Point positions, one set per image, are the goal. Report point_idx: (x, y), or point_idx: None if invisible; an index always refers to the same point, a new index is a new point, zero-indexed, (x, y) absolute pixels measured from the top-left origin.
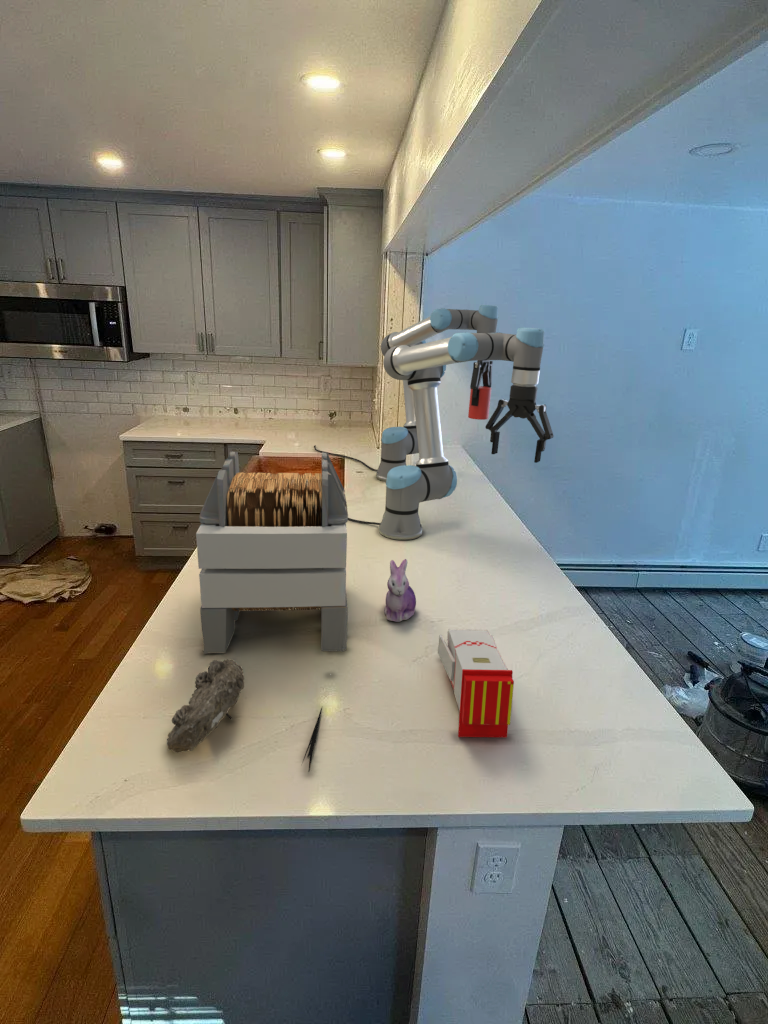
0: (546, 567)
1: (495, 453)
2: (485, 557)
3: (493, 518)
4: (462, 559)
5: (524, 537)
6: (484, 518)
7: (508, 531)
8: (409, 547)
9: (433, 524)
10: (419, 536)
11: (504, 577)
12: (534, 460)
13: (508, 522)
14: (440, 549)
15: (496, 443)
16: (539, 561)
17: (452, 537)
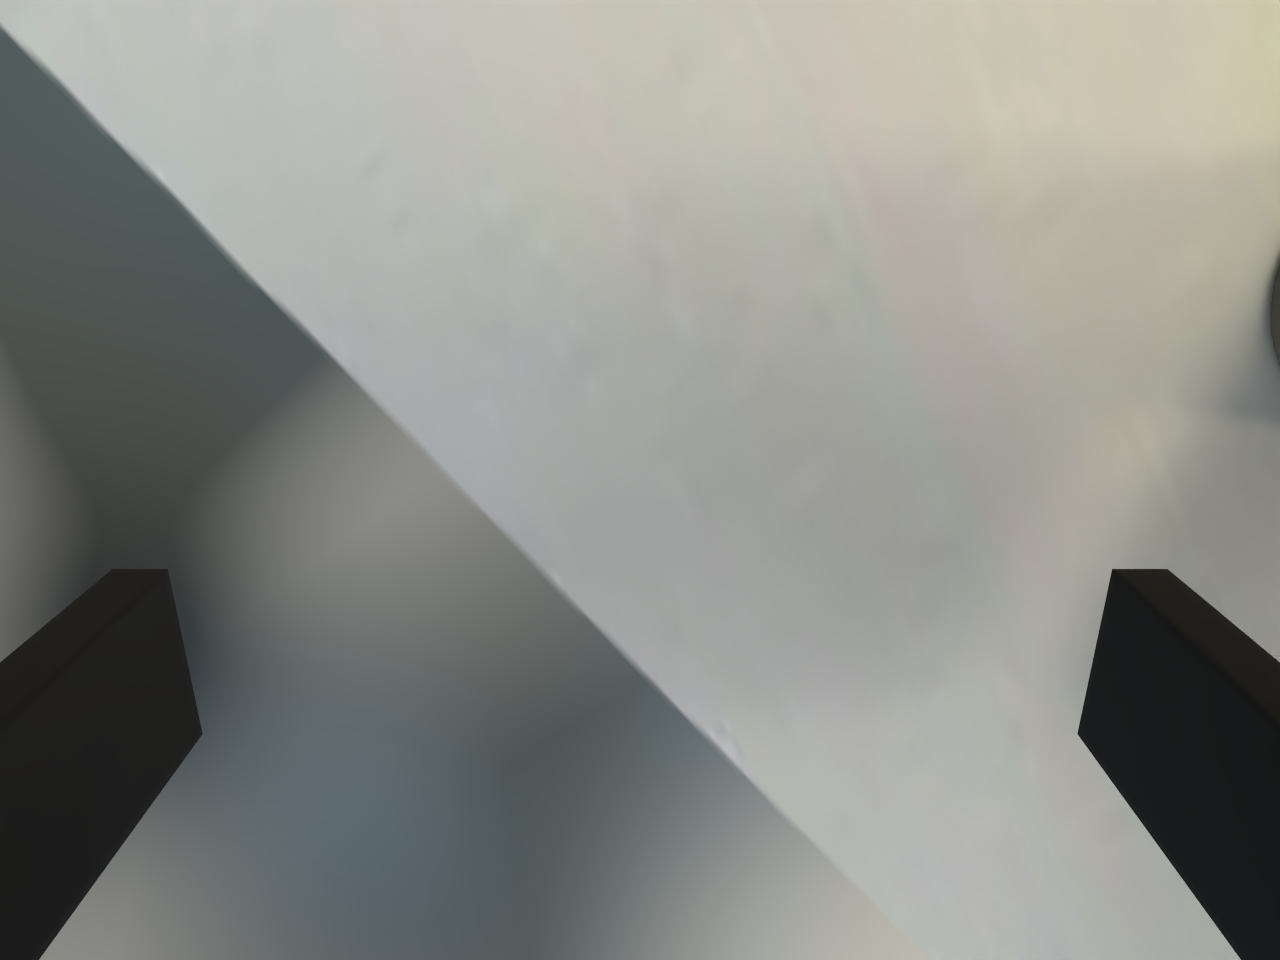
0: (411, 409)
1: (1097, 653)
2: (763, 294)
3: (957, 850)
4: (874, 158)
5: (696, 715)
6: (1003, 820)
7: (807, 736)
8: (1273, 82)
9: (1257, 549)
10: (1274, 293)
11: (535, 87)
12: (145, 588)
13: (859, 849)
14: (1065, 207)
15: (1234, 802)
16: (480, 461)
17: (1068, 441)
